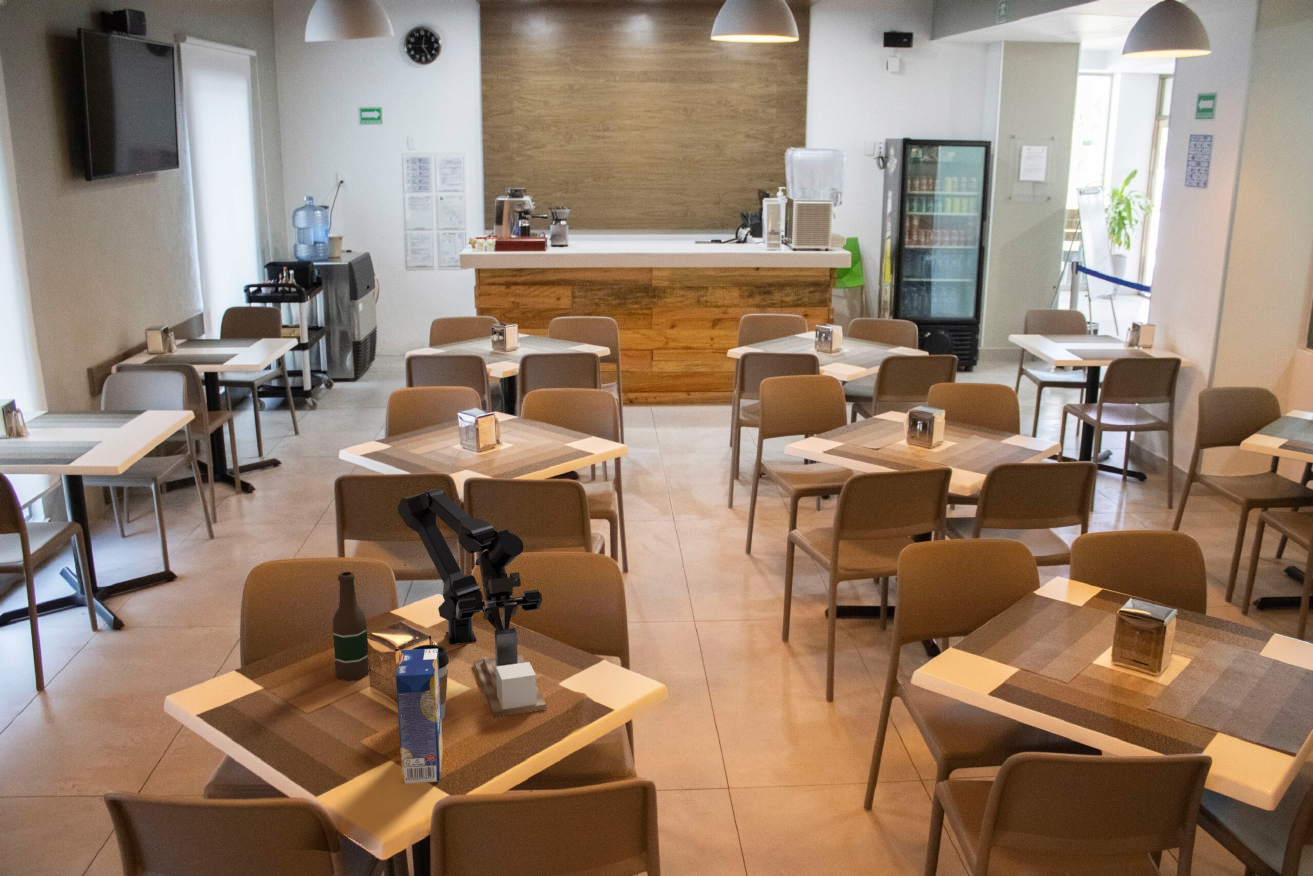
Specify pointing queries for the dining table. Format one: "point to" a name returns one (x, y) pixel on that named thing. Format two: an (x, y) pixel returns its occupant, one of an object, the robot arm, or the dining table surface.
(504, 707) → the socket
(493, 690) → the rail
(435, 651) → the beverage box
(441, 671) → the coffee cup
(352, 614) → the beer bottle
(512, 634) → the dark grey rectangular block
